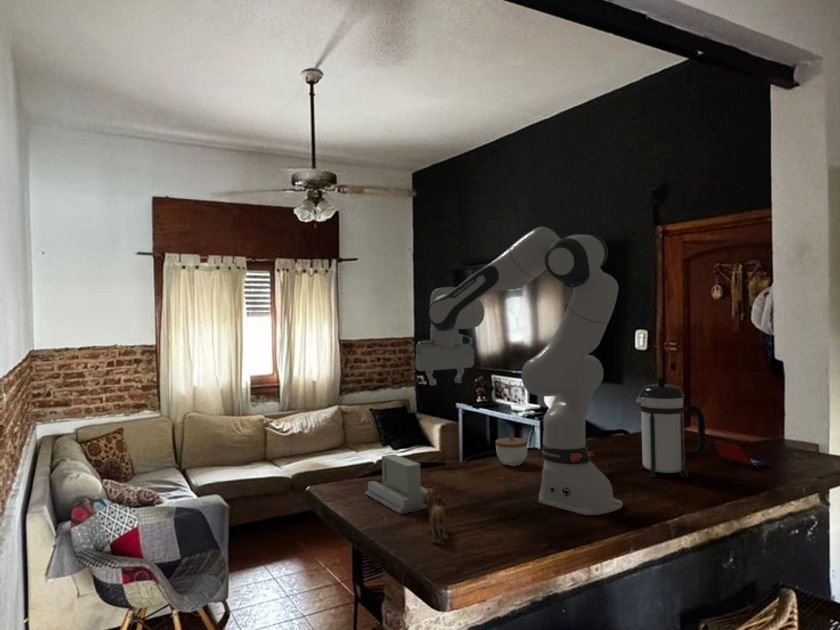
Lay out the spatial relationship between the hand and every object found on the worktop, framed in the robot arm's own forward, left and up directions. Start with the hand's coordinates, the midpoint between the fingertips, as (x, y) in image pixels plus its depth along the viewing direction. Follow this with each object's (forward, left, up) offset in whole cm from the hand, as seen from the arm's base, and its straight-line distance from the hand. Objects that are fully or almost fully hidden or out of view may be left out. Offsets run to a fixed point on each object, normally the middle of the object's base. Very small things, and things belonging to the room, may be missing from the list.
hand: (445, 383), depth 181 cm
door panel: (-11, +23, -28) cm, 38 cm away
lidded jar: (+1, -27, -29) cm, 40 cm away
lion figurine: (-37, +29, -29) cm, 55 cm away
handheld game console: (-43, -86, -30) cm, 101 cm away
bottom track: (-11, +23, -29) cm, 39 cm away
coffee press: (-36, -58, -29) cm, 74 cm away
